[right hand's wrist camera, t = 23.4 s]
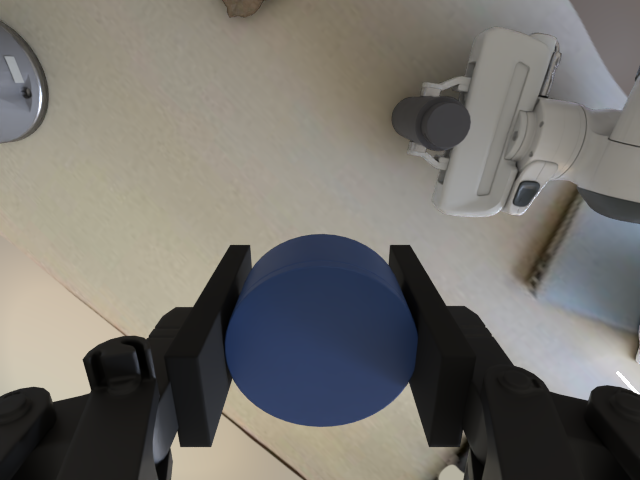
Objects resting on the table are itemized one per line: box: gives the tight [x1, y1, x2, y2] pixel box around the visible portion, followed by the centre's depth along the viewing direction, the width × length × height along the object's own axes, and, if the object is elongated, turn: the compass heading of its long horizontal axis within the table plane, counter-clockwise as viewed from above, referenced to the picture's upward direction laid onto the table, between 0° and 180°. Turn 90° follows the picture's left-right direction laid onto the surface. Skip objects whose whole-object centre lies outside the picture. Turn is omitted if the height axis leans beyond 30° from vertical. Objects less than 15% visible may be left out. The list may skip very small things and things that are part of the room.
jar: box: [392, 96, 471, 151], centre depth 41 cm, size 5×5×16 cm
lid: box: [225, 234, 418, 427], centre depth 11 cm, size 5×5×2 cm
